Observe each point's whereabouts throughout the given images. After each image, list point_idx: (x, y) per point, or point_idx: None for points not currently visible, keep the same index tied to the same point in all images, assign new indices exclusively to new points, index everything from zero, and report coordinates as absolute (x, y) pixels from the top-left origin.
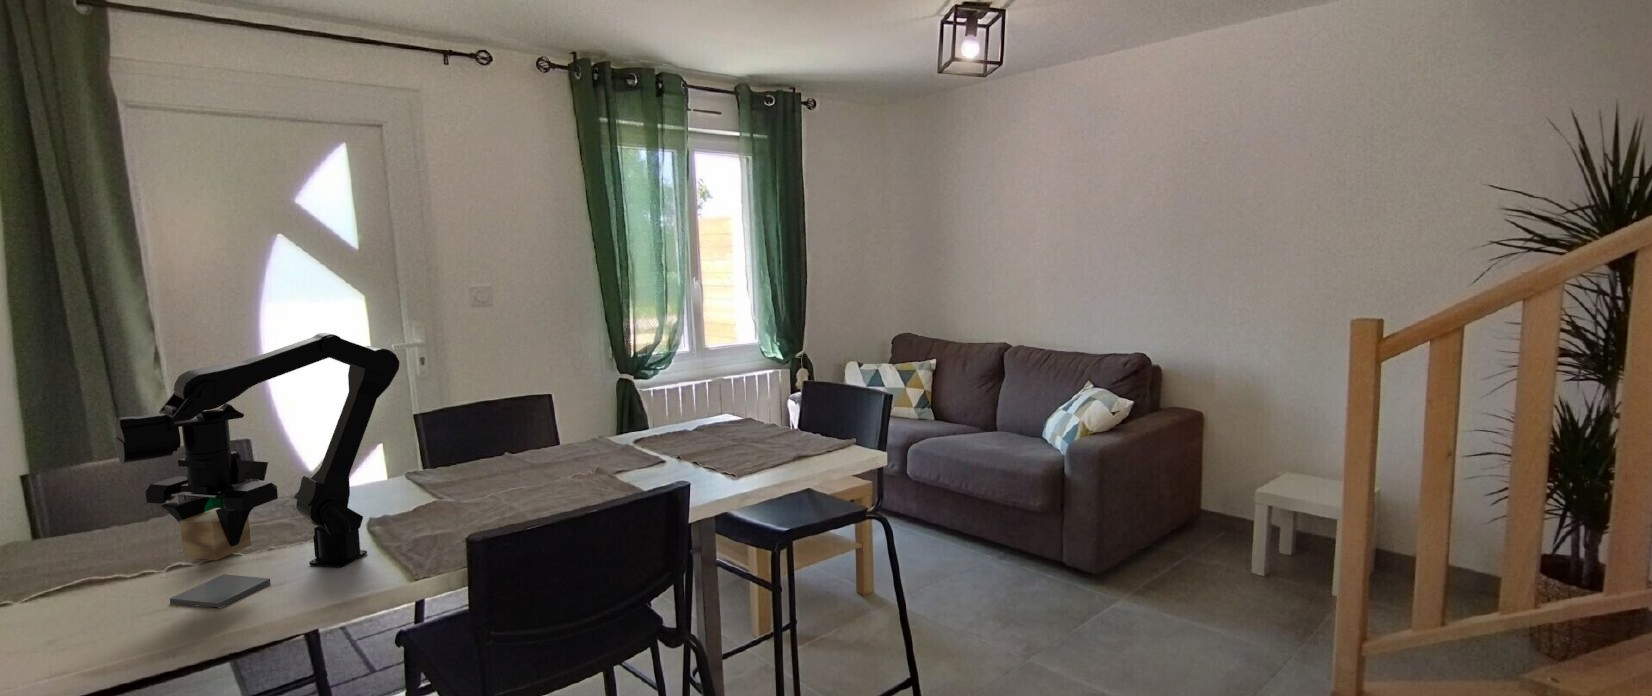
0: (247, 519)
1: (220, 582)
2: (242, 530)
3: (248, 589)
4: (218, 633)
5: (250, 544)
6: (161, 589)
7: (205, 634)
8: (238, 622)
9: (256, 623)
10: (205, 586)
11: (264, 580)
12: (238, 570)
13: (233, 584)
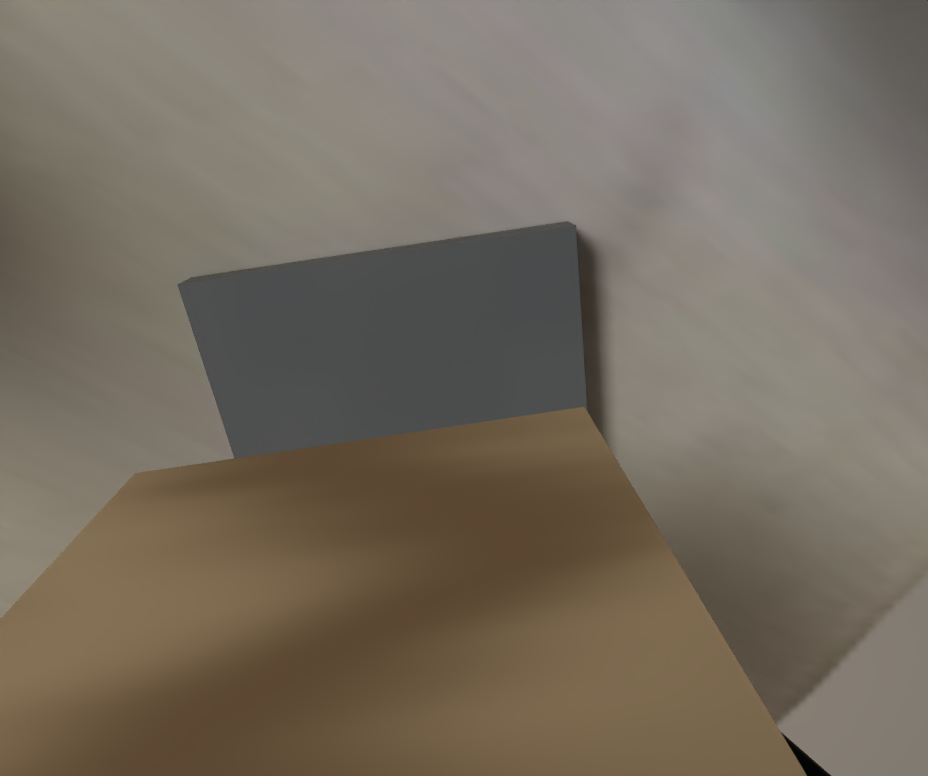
0: (764, 734)
1: (312, 381)
2: (797, 756)
3: (584, 385)
4: (804, 659)
5: (585, 418)
6: (27, 501)
7: (758, 678)
8: (809, 583)
9: (900, 564)
10: (289, 448)
11: (566, 262)
12: (111, 132)
13: (427, 374)
